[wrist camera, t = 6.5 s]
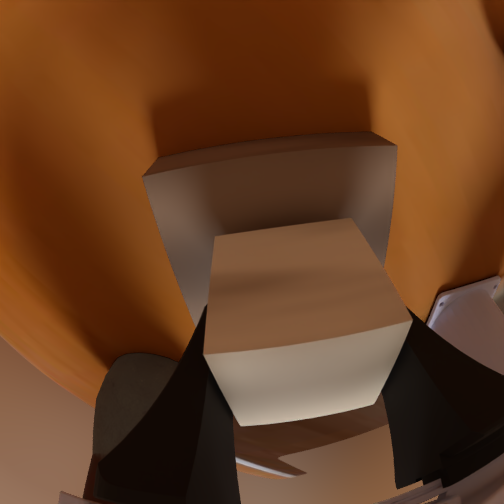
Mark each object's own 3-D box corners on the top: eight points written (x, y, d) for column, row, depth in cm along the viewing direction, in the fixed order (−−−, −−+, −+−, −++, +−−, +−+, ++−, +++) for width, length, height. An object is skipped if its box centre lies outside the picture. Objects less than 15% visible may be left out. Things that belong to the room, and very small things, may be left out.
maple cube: (343, 311, 13) (373, 404, 9) (238, 326, 13) (240, 426, 9) (351, 218, 10) (413, 319, 6) (215, 236, 10) (203, 354, 6)
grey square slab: (357, 284, 18) (372, 318, 15) (205, 306, 18) (202, 343, 16) (367, 129, 12) (397, 145, 10) (160, 155, 12) (142, 176, 10)
